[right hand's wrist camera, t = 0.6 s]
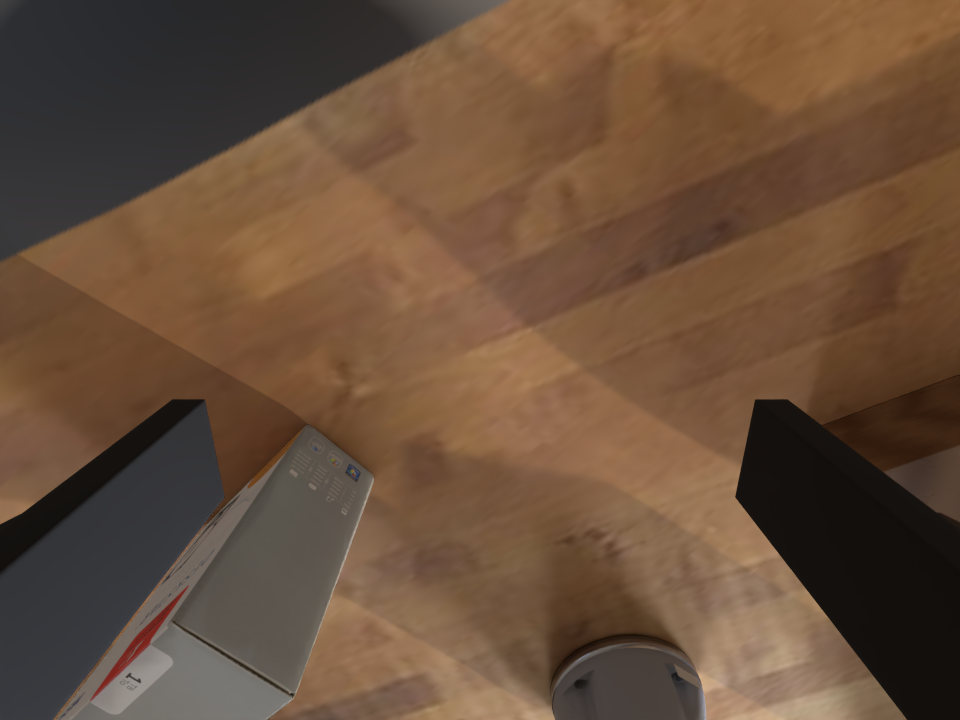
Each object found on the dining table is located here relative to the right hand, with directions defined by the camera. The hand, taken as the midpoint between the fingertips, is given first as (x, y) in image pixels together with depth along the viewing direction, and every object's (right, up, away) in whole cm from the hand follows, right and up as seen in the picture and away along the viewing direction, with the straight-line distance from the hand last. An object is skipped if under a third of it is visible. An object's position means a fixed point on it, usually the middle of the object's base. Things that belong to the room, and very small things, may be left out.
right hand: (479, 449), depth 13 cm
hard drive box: (-17, -10, +33) cm, 39 cm away
